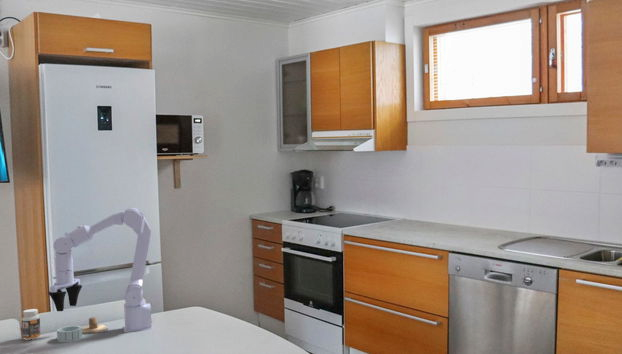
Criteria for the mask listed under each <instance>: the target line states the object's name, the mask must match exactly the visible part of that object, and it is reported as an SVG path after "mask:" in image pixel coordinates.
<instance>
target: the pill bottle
mask: <svg viewBox="0 0 622 354" xmlns="http://www.w3.org/2000/svg"><path fill="white" fill-rule="evenodd" d="M38 313H39V310H38V309H37V308H30V309H26V310H23V311H22V314H23V317H22V318H21V326H22V327H21V331H22V340H24V338H25V339H26V340H25V341H32V340H36V339H39V338H40V337H41V319H40V318H41V317H40V316H39V314H38ZM35 338H36V339H35ZM31 339H32V340H31Z"/></svg>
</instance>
